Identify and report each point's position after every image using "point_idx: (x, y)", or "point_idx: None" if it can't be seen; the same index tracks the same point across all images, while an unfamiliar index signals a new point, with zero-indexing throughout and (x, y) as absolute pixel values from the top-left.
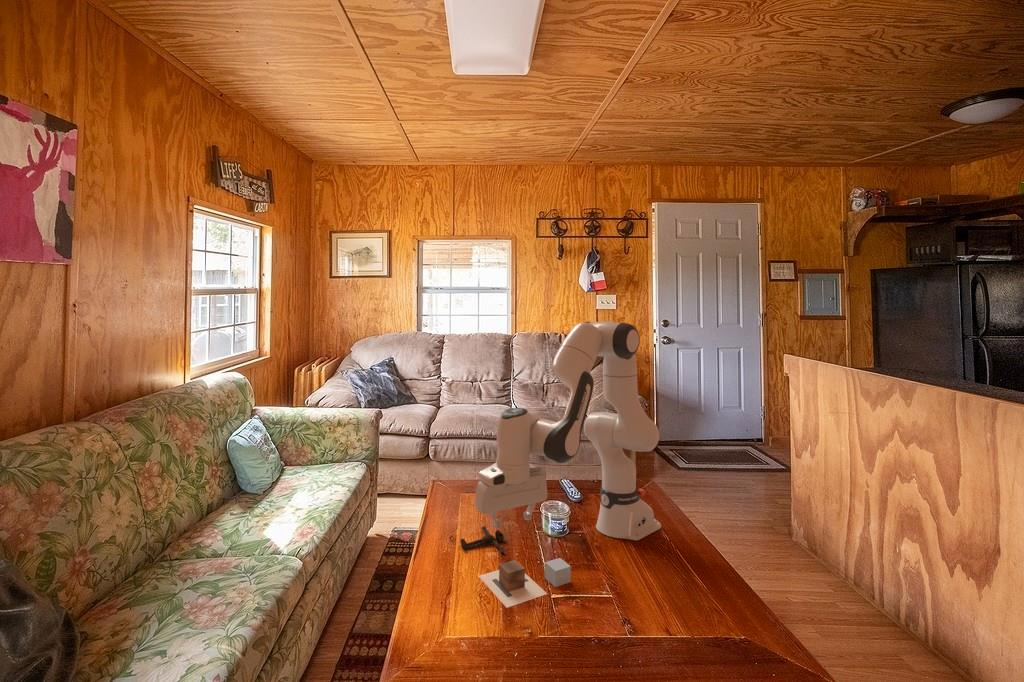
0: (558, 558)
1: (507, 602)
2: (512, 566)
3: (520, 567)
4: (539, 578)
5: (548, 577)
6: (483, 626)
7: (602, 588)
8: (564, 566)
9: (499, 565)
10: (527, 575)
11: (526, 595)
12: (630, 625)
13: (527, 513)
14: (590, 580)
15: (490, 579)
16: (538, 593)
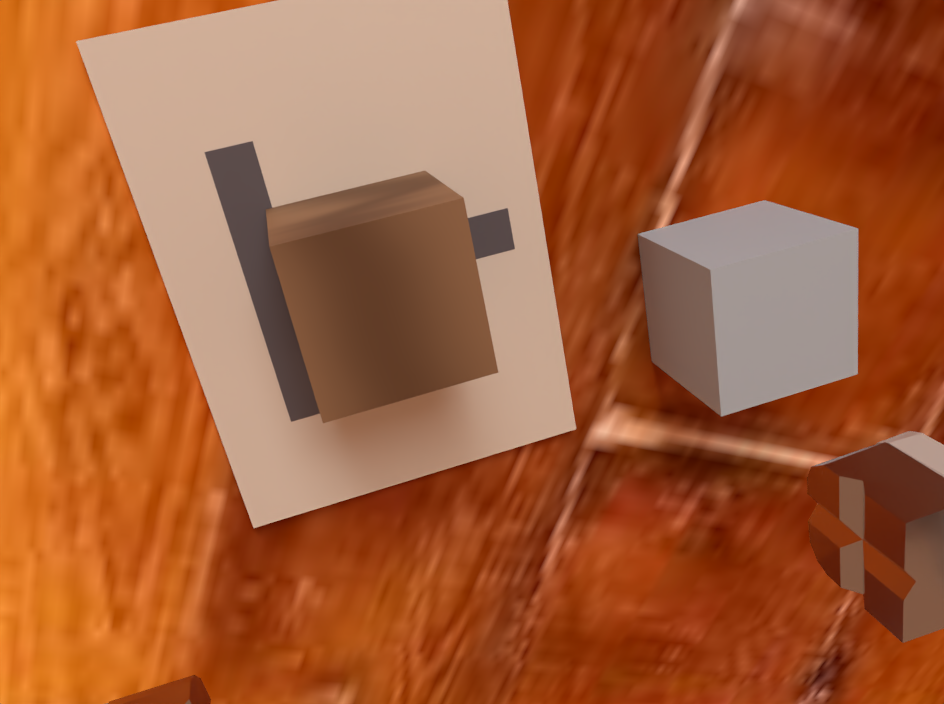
0: (841, 236)
1: (273, 475)
2: (395, 317)
3: (464, 348)
4: (609, 207)
5: (663, 293)
6: (58, 651)
7: (905, 412)
8: (815, 367)
9: (271, 249)
10: (533, 170)
11: (432, 422)
12: (826, 697)
13: (934, 601)
14: (899, 318)
15: (195, 140)
16: (521, 416)
